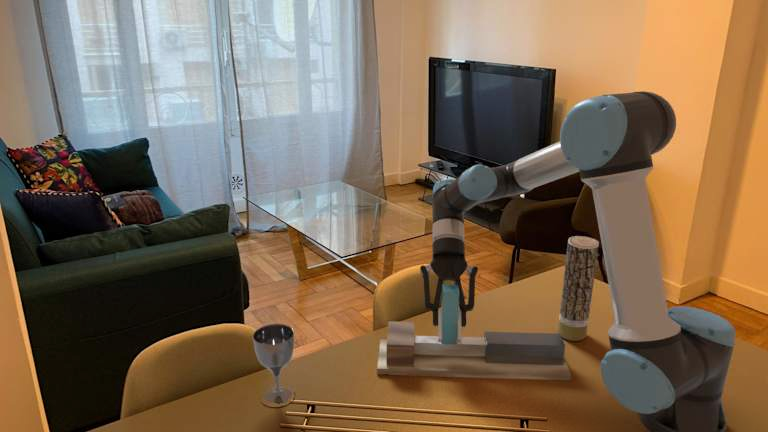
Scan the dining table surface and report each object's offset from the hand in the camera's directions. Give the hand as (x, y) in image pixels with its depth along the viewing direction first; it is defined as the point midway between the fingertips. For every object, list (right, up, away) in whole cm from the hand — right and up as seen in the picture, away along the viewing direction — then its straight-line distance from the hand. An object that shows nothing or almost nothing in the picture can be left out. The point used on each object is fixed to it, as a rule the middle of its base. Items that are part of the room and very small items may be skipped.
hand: (449, 340), depth 125 cm
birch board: (+6, -6, +6) cm, 10 cm away
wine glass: (-36, -11, -6) cm, 38 cm away
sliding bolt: (+4, -4, +5) cm, 8 cm away
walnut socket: (-10, -4, +6) cm, 13 cm away
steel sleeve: (+17, -5, +5) cm, 18 cm away
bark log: (+32, -2, +17) cm, 36 cm away
